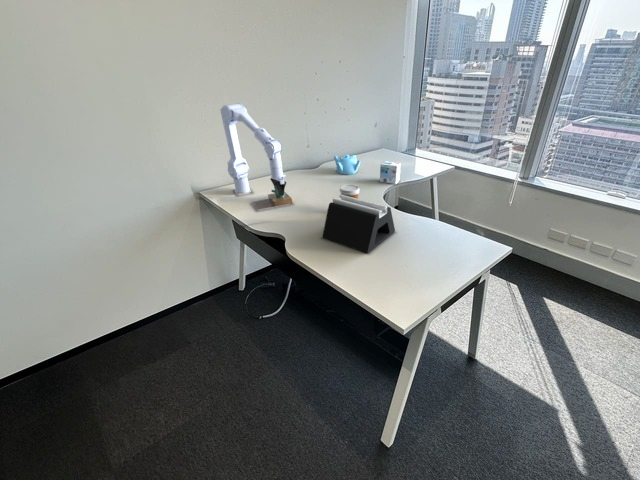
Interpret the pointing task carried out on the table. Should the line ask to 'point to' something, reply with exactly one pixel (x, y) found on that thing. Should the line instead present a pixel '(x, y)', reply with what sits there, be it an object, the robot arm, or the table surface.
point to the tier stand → (272, 201)
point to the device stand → (358, 223)
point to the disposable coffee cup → (350, 191)
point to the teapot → (347, 164)
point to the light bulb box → (389, 172)
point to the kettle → (277, 193)
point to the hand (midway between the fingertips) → (280, 193)
